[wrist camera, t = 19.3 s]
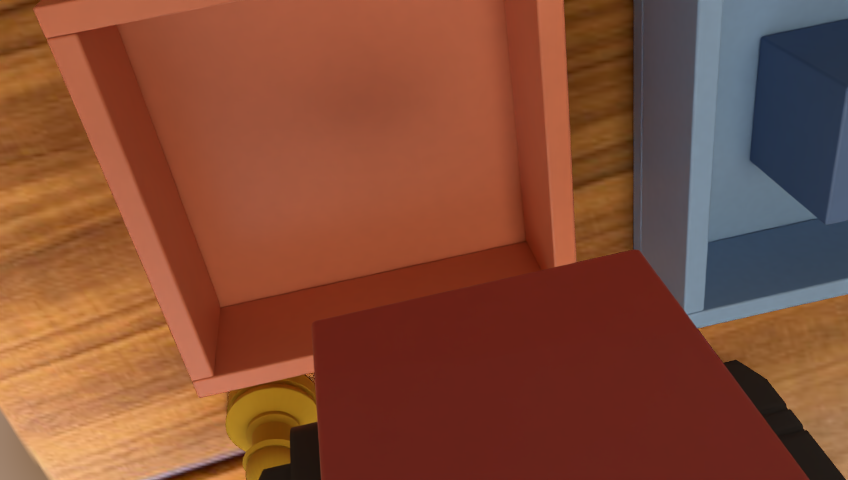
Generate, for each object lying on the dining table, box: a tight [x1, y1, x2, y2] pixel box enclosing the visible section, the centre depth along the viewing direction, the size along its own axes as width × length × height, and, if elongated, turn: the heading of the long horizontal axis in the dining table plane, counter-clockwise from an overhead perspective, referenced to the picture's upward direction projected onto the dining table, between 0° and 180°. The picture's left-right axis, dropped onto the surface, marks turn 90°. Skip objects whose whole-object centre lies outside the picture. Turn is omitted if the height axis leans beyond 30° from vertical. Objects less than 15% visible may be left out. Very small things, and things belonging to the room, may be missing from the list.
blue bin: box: [634, 0, 848, 328], centre depth 27 cm, size 14×14×5 cm
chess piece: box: [225, 375, 317, 480], centre depth 31 cm, size 4×4×5 cm
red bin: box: [34, 0, 576, 398], centre depth 25 cm, size 14×14×5 cm
